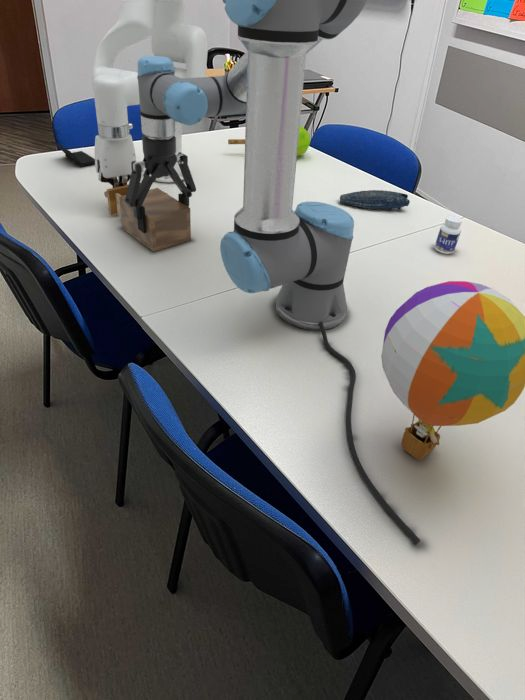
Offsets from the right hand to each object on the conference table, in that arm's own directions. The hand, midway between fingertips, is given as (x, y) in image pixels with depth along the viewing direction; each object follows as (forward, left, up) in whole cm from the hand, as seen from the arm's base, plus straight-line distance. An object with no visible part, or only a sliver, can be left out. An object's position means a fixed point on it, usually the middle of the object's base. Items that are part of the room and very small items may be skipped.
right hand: (163, 225), depth 130 cm
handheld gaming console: (+45, +43, -4) cm, 63 cm away
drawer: (+10, +11, -3) cm, 15 cm away
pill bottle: (+16, -73, -4) cm, 75 cm away
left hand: (+14, +16, -1) cm, 22 cm away
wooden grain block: (+2, +3, -4) cm, 6 cm away
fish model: (+40, -54, -4) cm, 67 cm away
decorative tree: (+74, -17, -4) cm, 76 cm away
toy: (-58, -60, -4) cm, 83 cm away
